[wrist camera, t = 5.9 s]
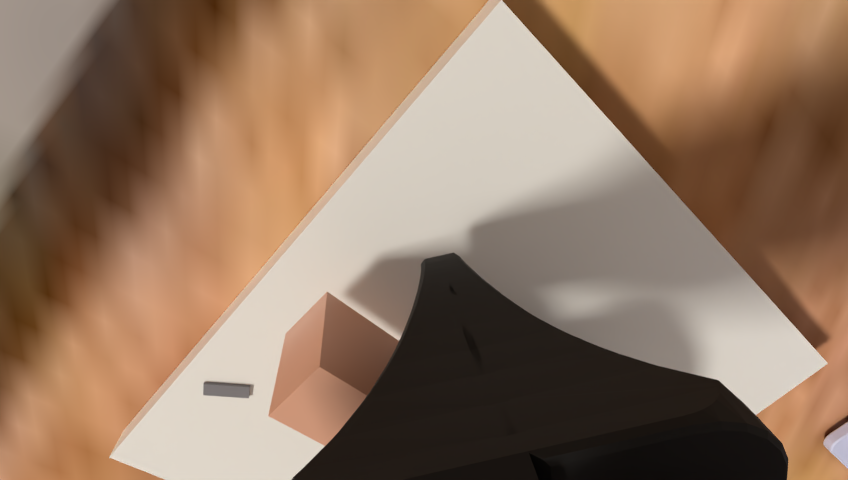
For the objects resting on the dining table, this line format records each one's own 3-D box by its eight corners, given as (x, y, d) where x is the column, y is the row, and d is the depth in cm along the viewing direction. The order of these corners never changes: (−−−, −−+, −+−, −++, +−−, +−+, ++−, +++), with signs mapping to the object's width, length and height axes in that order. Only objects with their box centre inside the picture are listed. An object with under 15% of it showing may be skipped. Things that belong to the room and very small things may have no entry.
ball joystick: (643, 425, 14) (696, 504, 12) (495, 533, 16) (518, 621, 14) (395, 223, 10) (404, 284, 8) (228, 391, 12) (198, 482, 10)
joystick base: (489, -1, 11) (515, 0, 9) (803, 344, 17) (855, 384, 15) (124, 429, 15) (92, 488, 13) (482, 580, 21) (493, 634, 19)
